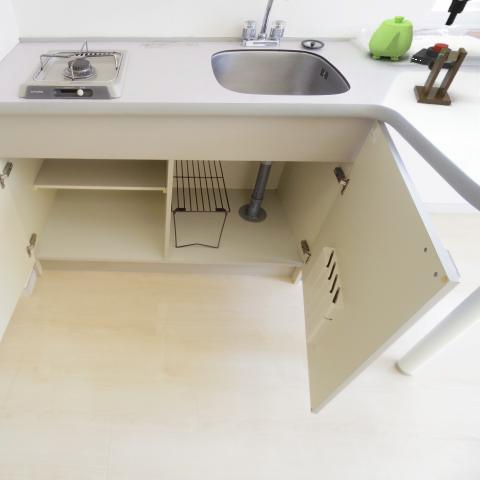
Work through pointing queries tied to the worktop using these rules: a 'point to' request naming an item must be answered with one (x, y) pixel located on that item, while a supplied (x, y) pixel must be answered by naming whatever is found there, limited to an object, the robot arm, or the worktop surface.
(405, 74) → the worktop surface
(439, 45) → the button
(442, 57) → the brown wooden stand
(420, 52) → the button box
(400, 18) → the teapot
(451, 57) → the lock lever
